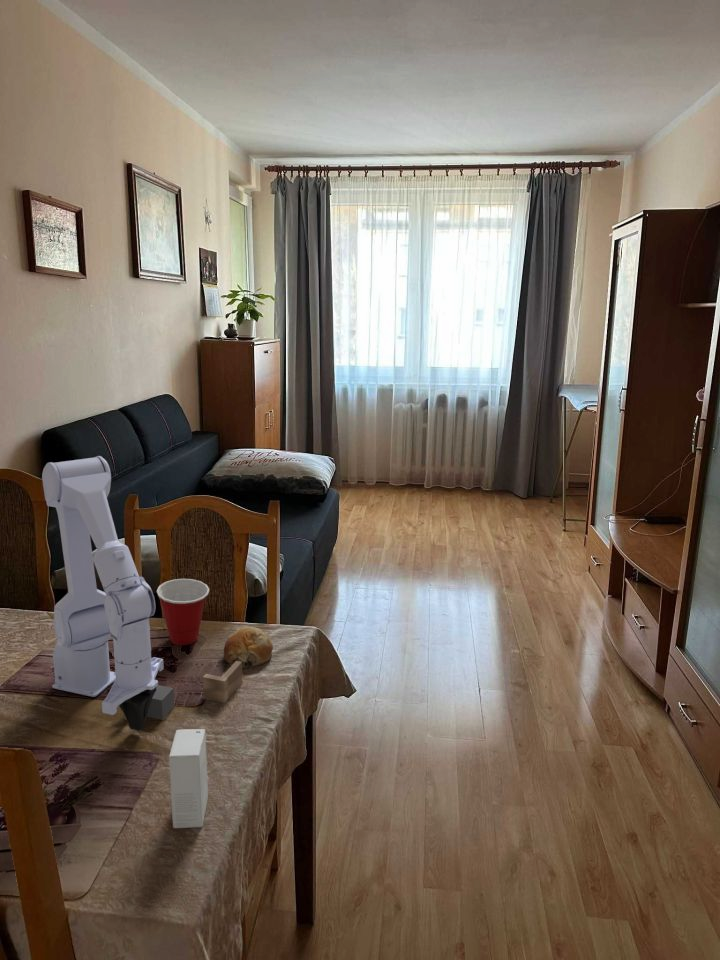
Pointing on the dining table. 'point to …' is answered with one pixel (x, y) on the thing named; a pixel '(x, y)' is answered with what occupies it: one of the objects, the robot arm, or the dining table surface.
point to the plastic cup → (183, 608)
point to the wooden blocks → (222, 684)
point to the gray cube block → (161, 702)
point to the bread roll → (248, 647)
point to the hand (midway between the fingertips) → (137, 727)
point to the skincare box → (188, 778)
